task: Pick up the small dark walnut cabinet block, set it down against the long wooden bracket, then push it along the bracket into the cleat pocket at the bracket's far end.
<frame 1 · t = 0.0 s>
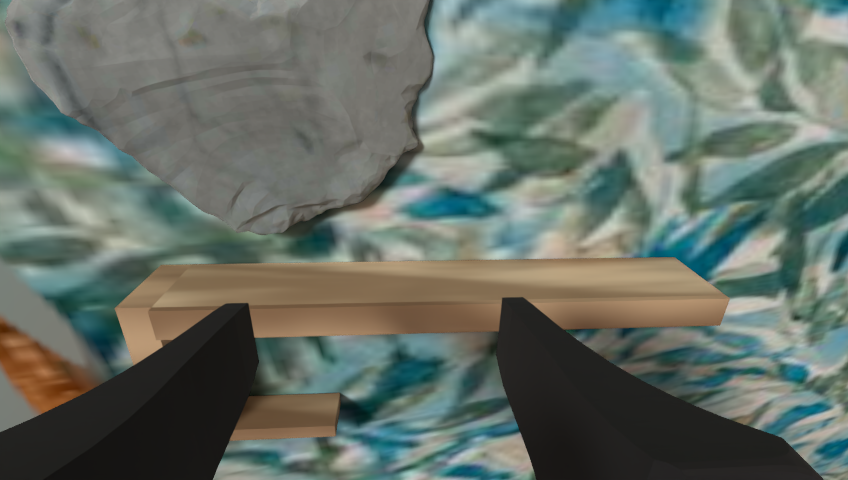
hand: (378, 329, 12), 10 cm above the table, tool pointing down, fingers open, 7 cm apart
wooden bracket: (441, 273, 23), on the table
stone: (267, 54, 19), on the table
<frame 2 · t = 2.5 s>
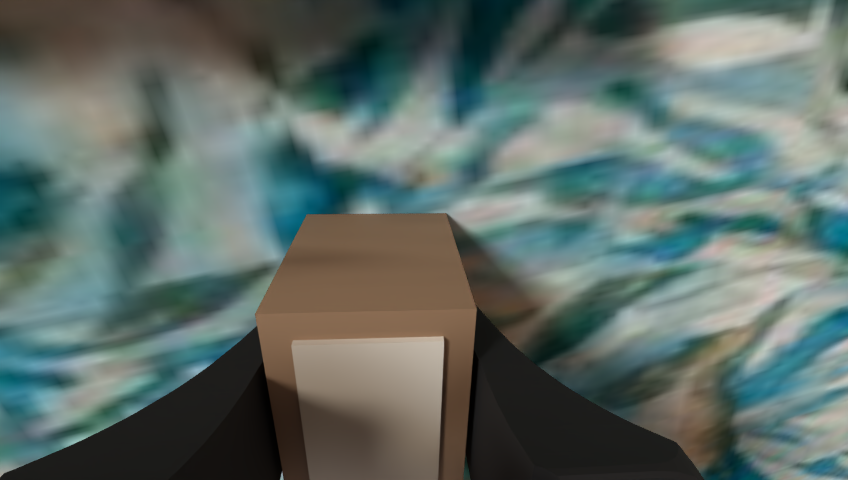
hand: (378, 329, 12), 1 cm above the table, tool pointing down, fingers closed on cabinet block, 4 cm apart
cabinet block: (379, 302, 14), on the table, touching gripper
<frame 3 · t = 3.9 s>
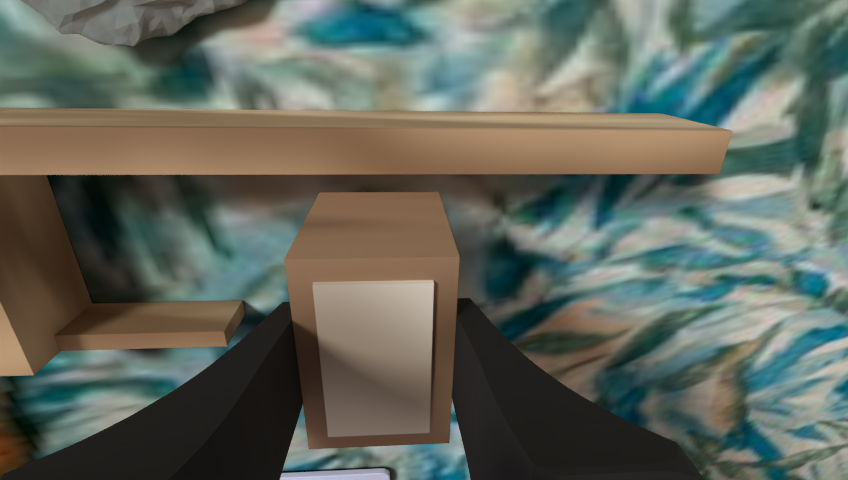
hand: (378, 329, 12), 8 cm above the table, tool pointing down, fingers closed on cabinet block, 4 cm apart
wooden bracket: (358, 129, 18), on the table
cabinet block: (381, 271, 16), point 5 cm above the table, touching gripper
when the fingers open (2 cm above the table, at t = 5.4 s): cabinet block stays where it is, on the table.
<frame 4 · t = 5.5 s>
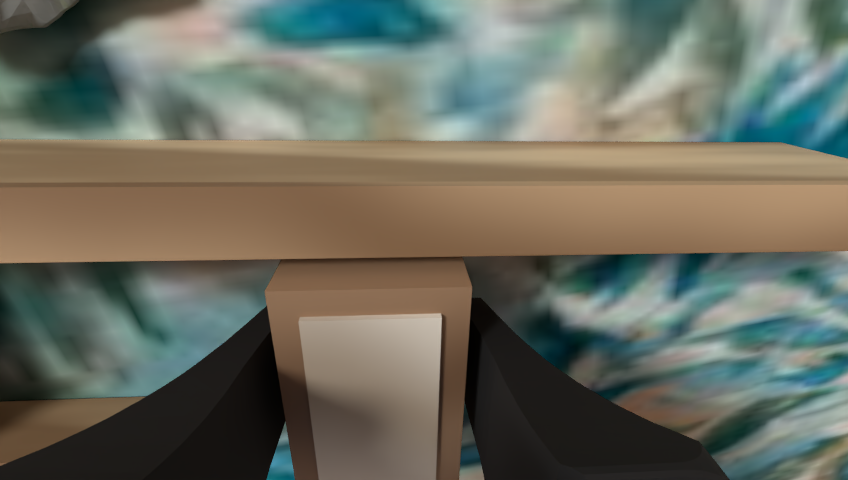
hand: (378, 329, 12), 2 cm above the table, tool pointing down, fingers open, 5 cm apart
wooden bracket: (341, 167, 12), on the table
cabinet block: (381, 289, 14), on the table
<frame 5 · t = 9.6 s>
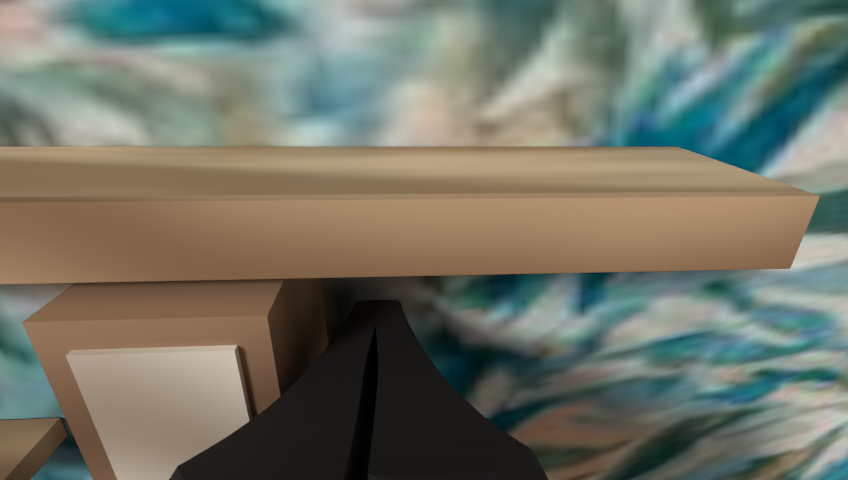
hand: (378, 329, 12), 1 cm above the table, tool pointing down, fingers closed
wooden bracket: (194, 175, 11), on the table
cabinet block: (258, 306, 13), on the table, touching gripper
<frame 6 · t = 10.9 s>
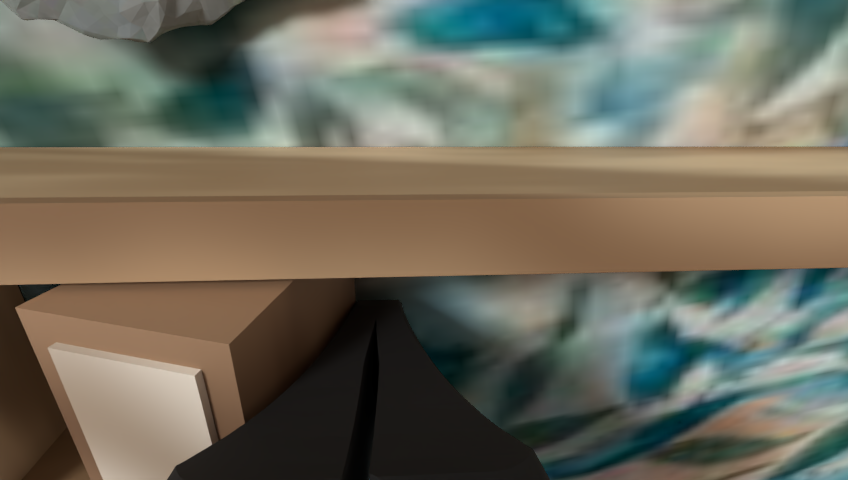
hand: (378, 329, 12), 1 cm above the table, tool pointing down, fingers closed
wooden bracket: (476, 174, 12), on the table
cabinet block: (291, 311, 12), point 1 cm above the table, tilted 16°, touching gripper
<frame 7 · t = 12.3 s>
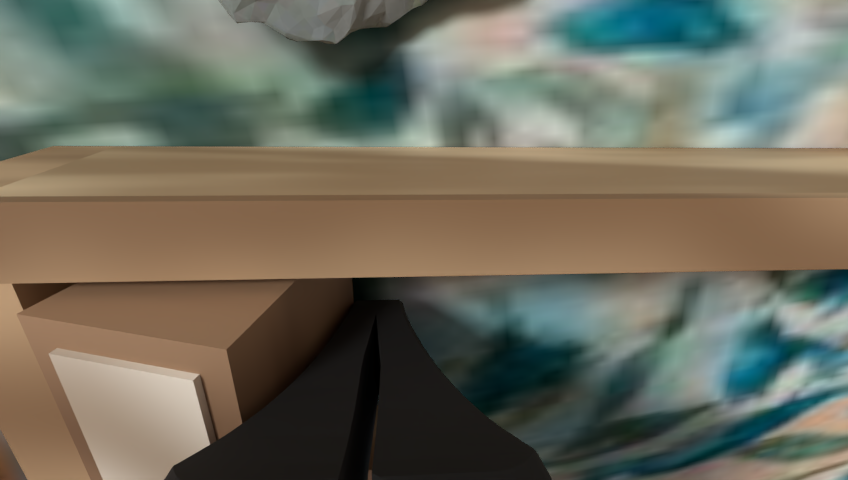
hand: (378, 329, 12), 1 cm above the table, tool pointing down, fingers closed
wooden bracket: (609, 174, 12), on the table
cabinet block: (290, 315, 13), point 1 cm above the table, tilted 16°, touching gripper
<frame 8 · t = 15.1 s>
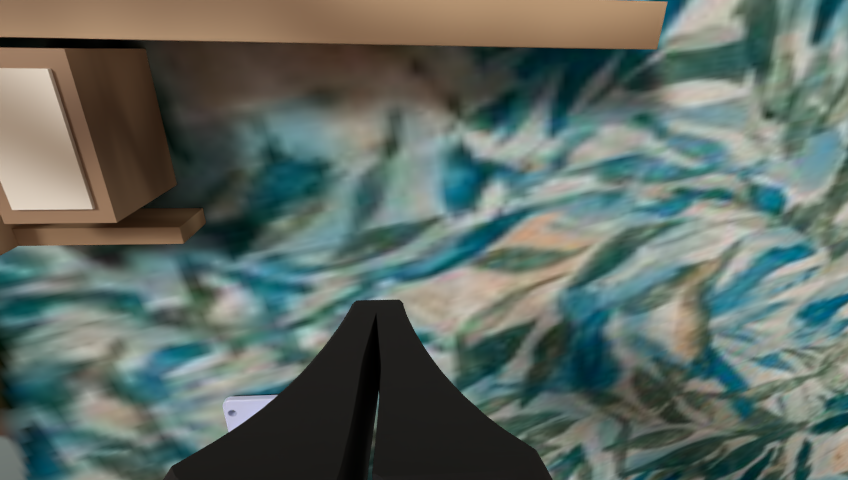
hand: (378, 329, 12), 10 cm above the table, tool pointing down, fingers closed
wooden bracket: (310, 24, 18), on the table
cabinet block: (117, 120, 19), on the table
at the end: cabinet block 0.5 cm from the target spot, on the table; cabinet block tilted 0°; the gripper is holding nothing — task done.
